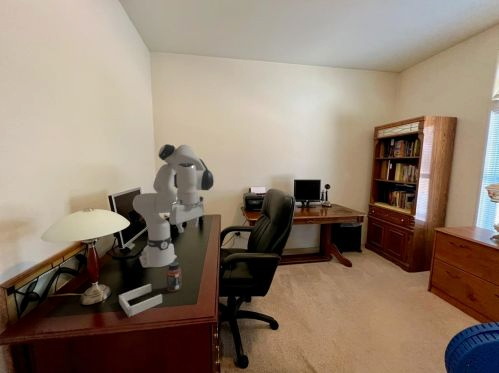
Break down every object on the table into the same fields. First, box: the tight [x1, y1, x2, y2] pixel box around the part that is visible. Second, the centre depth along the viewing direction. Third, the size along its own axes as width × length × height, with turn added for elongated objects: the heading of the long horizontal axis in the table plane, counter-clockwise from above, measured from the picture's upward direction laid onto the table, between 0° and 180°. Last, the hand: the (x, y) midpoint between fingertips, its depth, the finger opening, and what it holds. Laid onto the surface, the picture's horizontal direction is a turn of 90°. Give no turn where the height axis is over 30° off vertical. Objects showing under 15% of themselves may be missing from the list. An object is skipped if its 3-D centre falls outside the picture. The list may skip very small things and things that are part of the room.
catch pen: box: [118, 283, 163, 318], centre depth 86 cm, size 12×12×3 cm
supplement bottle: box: [166, 261, 182, 293], centre depth 95 cm, size 6×6×11 cm
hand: (188, 229), depth 99 cm, fingers open, 8 cm apart
